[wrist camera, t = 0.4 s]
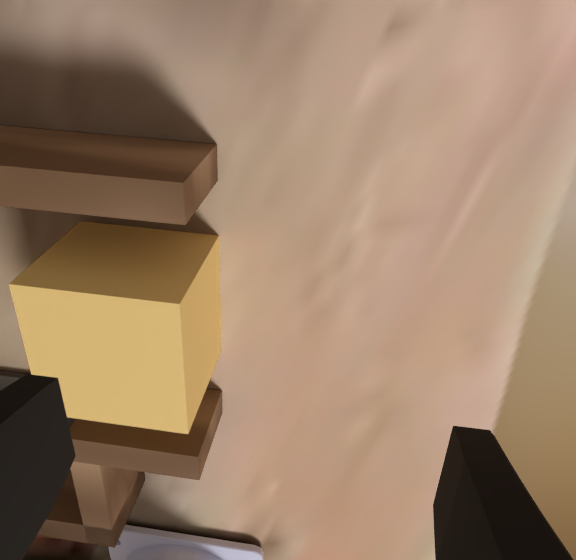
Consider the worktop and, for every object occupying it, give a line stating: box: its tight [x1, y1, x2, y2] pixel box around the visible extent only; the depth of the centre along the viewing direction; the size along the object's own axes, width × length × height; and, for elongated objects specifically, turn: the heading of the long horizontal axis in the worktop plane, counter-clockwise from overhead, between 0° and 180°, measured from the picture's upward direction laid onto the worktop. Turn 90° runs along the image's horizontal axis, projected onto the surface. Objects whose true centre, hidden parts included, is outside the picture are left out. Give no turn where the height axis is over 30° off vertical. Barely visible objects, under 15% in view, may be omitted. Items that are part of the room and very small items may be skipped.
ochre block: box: [9, 221, 221, 434], centre depth 19 cm, size 5×5×4 cm
